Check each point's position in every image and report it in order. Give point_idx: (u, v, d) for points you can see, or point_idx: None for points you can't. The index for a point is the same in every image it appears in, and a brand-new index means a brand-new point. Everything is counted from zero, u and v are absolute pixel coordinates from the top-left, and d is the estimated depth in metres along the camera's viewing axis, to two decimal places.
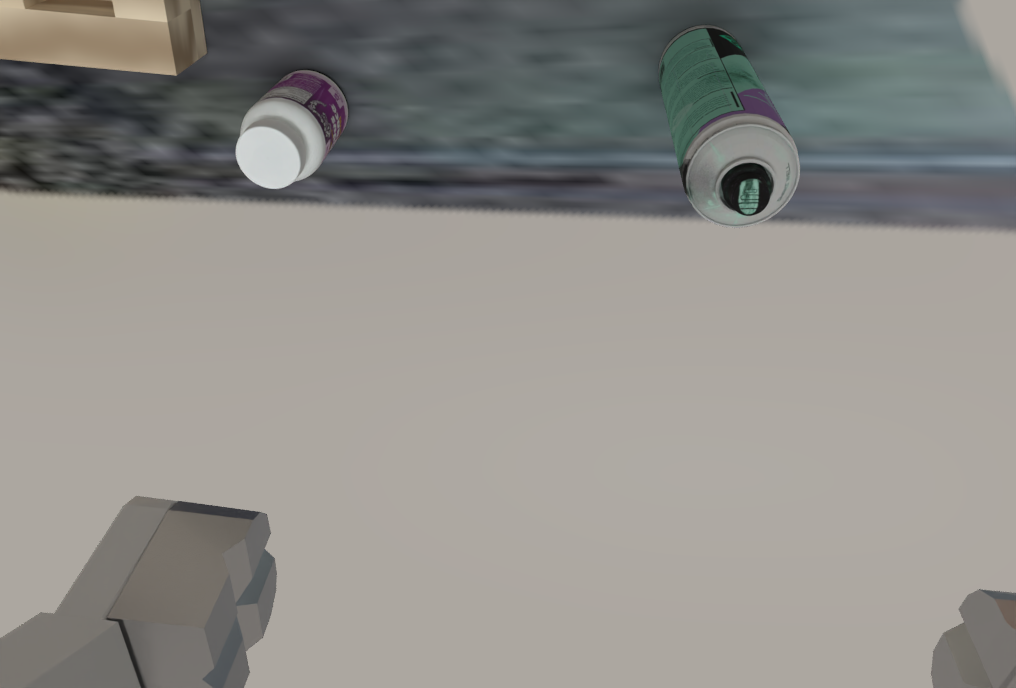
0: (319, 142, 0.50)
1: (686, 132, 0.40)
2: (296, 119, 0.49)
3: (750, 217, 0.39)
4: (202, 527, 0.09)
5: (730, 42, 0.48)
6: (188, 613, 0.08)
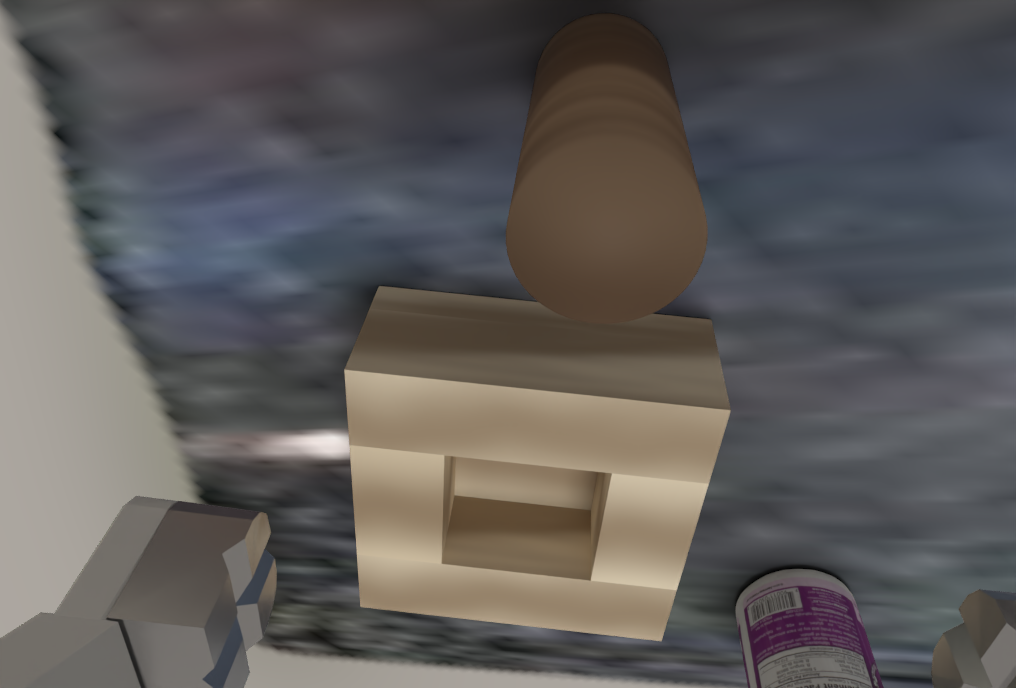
0: None
1: None
2: None
3: None
4: (202, 527, 0.09)
5: None
6: (188, 613, 0.08)
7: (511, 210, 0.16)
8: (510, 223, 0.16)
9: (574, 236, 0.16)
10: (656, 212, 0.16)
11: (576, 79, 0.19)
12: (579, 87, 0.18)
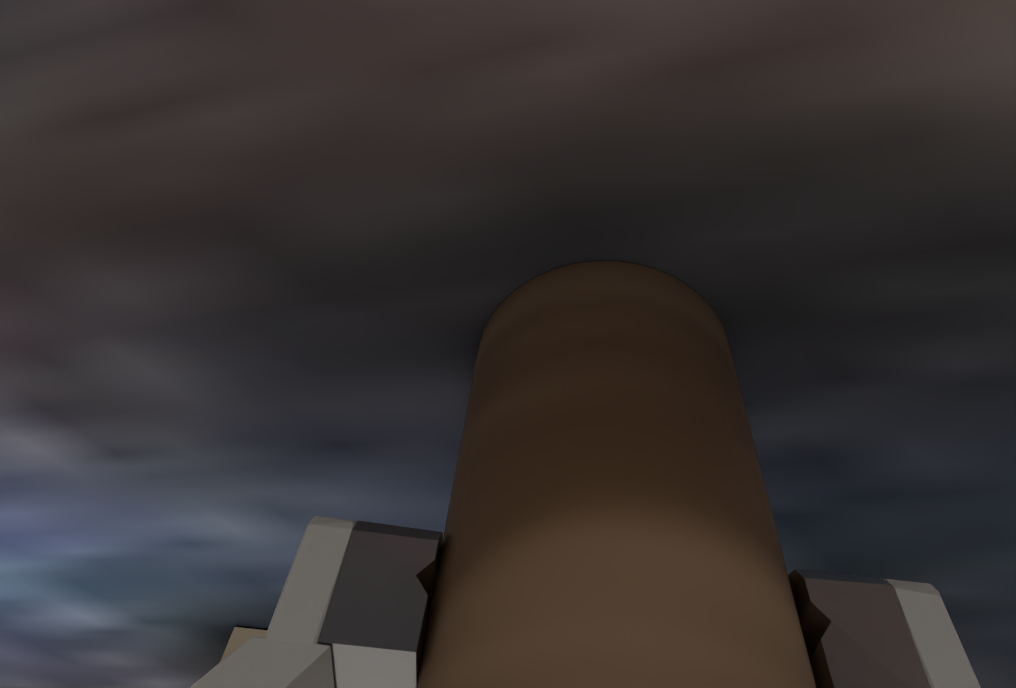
0: None
1: None
2: None
3: None
4: (390, 548, 0.09)
5: None
6: (396, 637, 0.08)
7: None
8: None
9: None
10: None
11: (542, 581, 0.07)
12: (550, 649, 0.07)
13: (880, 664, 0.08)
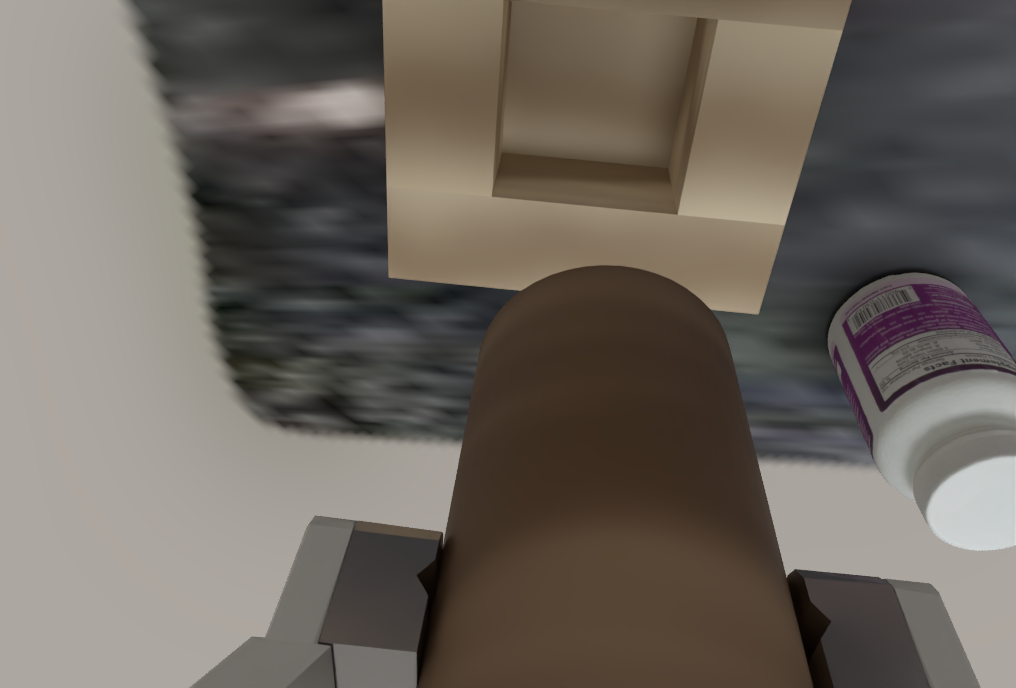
0: None
1: None
2: None
3: None
4: (391, 548, 0.09)
5: None
6: (397, 637, 0.08)
7: None
8: None
9: None
10: None
11: (542, 585, 0.07)
12: (547, 652, 0.07)
13: (880, 664, 0.08)
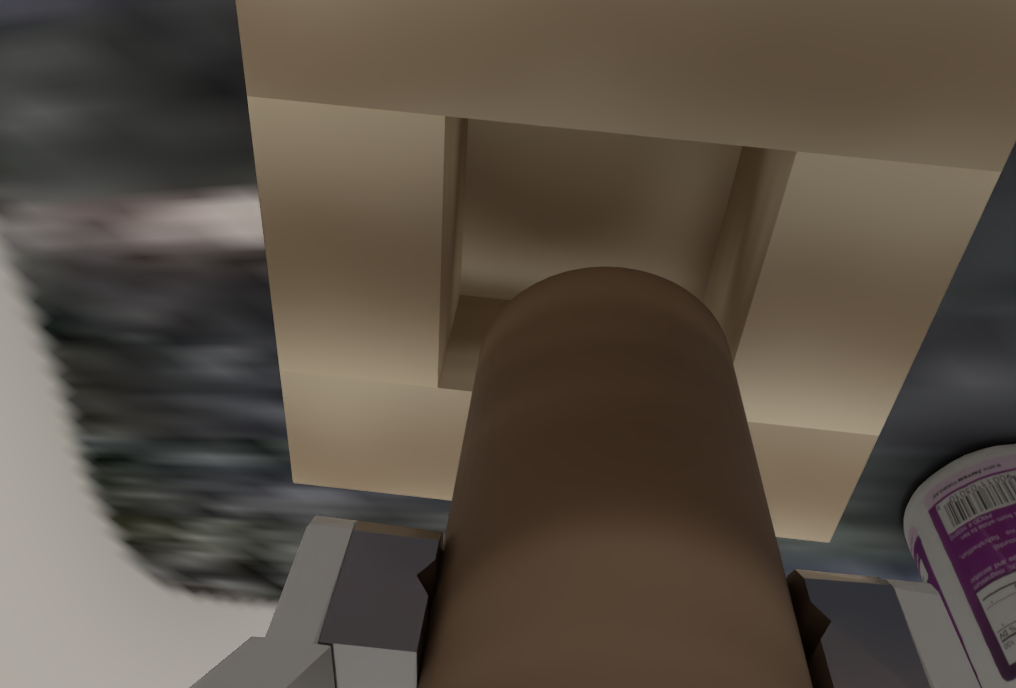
0: None
1: None
2: None
3: None
4: (391, 548, 0.09)
5: None
6: (397, 637, 0.08)
7: None
8: None
9: None
10: None
11: (542, 588, 0.07)
12: (547, 654, 0.07)
13: (879, 664, 0.08)
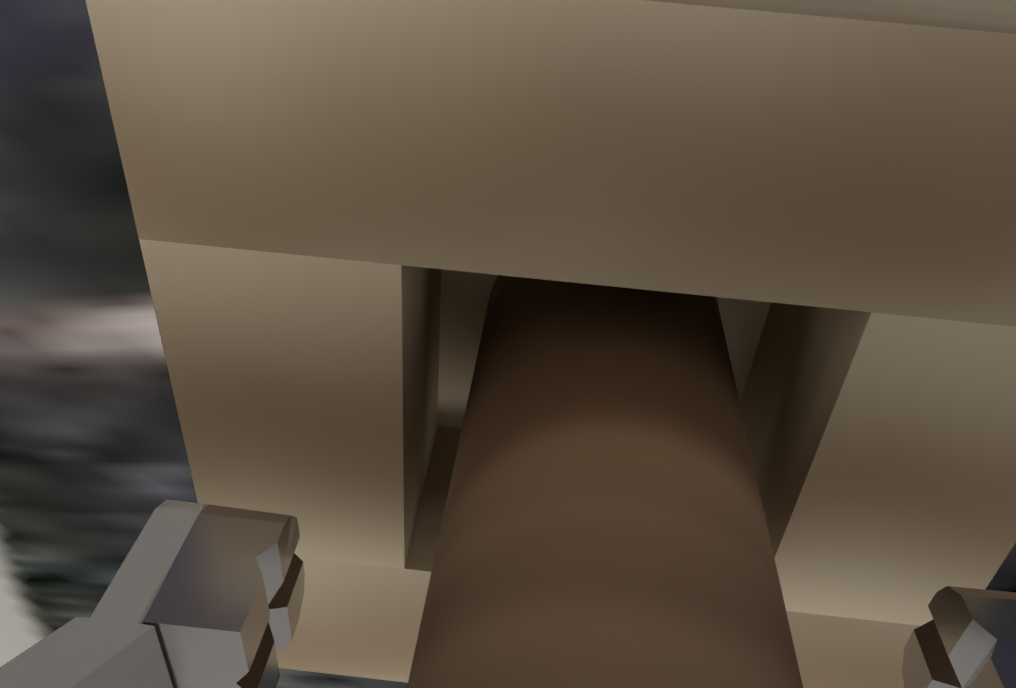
0: None
1: None
2: None
3: None
4: (234, 531, 0.09)
5: None
6: (224, 617, 0.08)
7: None
8: None
9: None
10: None
11: (541, 473, 0.08)
12: (545, 520, 0.08)
13: None
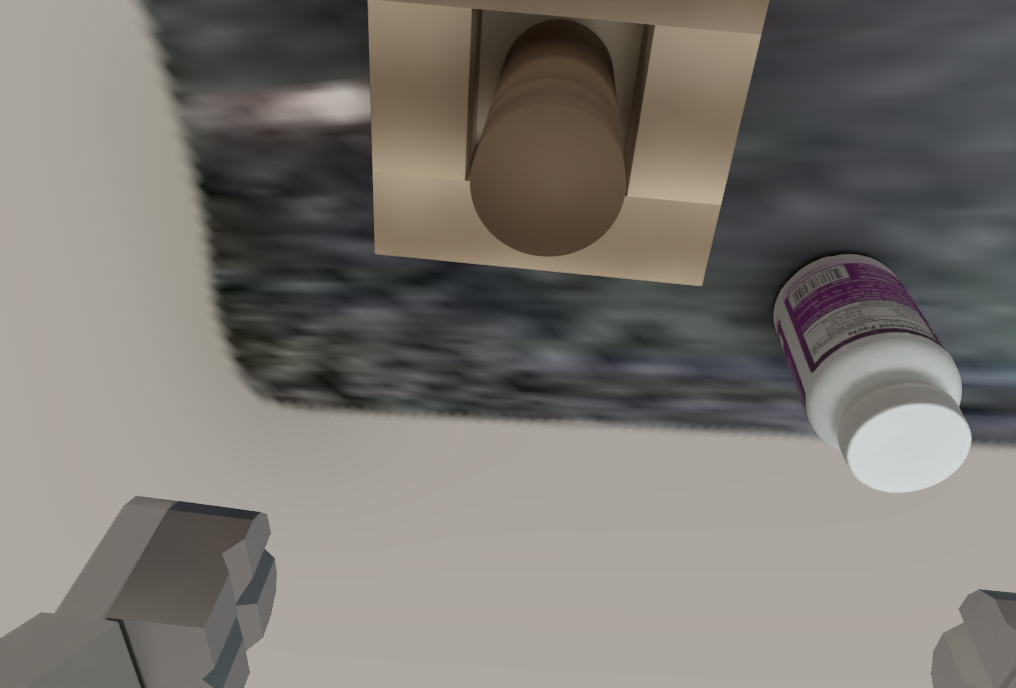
0: (959, 404, 0.29)
1: None
2: (943, 374, 0.28)
3: None
4: (202, 527, 0.09)
5: None
6: (188, 613, 0.08)
7: (473, 162, 0.20)
8: (473, 173, 0.21)
9: (522, 183, 0.21)
10: (585, 163, 0.20)
11: (529, 67, 0.23)
12: (530, 72, 0.23)
13: None
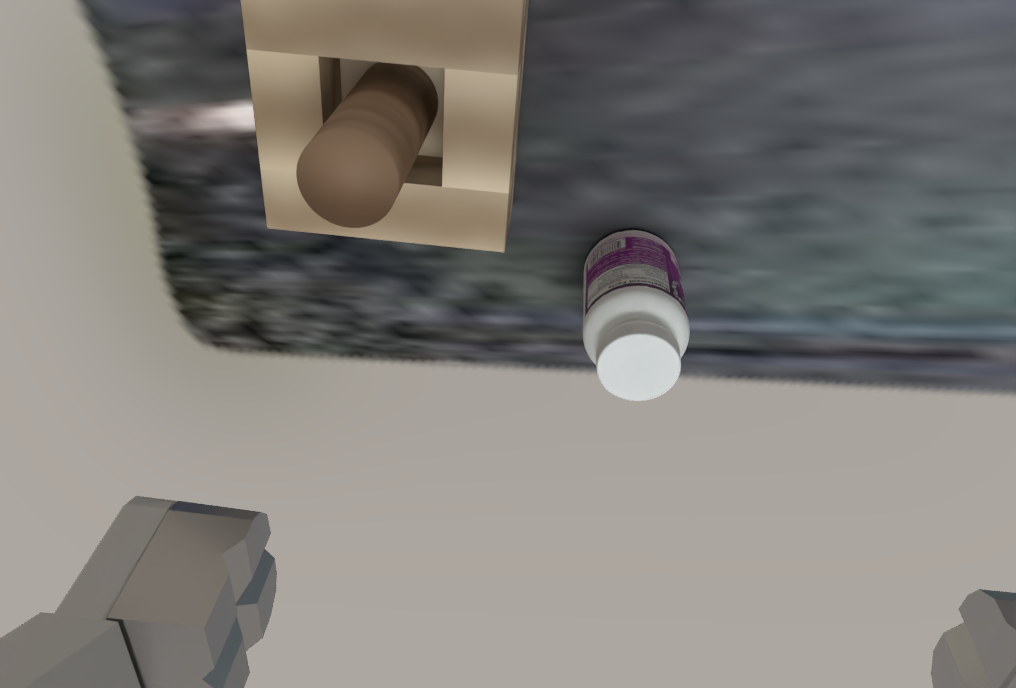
0: (687, 338, 0.40)
1: None
2: (668, 315, 0.39)
3: None
4: (202, 527, 0.09)
5: None
6: (188, 613, 0.08)
7: (297, 165, 0.31)
8: (298, 172, 0.32)
9: (330, 178, 0.32)
10: (369, 166, 0.31)
11: (350, 98, 0.34)
12: (348, 103, 0.34)
13: None
